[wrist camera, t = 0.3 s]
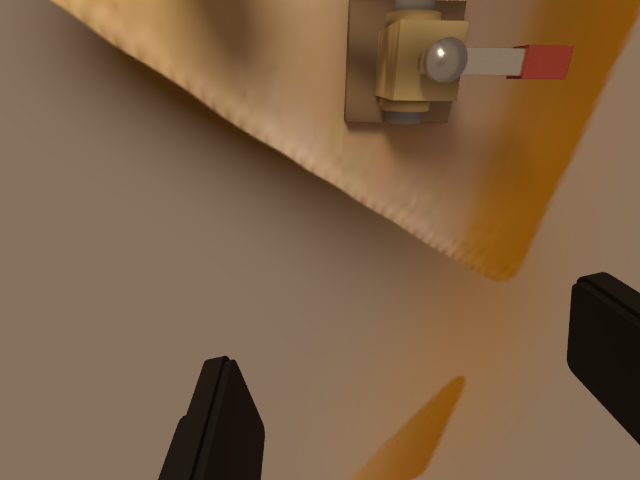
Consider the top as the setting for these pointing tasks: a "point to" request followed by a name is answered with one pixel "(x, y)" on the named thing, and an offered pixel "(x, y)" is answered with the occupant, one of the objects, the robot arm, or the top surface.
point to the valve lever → (493, 61)
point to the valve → (398, 60)
